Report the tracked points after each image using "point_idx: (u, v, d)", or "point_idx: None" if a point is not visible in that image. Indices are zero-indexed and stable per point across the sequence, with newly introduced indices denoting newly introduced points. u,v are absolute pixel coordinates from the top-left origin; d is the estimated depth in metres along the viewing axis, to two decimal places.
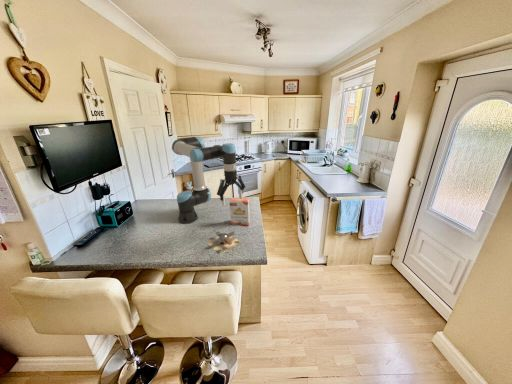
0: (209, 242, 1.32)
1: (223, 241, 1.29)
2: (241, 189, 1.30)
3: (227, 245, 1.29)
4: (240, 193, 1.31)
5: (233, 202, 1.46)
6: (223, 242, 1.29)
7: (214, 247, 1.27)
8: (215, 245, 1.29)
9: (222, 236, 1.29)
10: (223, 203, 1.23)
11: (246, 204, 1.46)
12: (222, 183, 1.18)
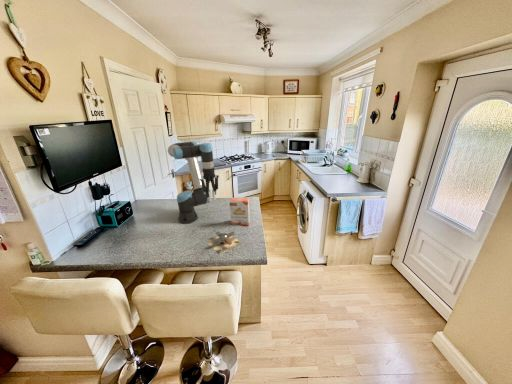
0: (209, 242, 1.32)
1: (223, 241, 1.29)
2: (214, 190, 1.38)
3: (227, 245, 1.29)
4: (213, 194, 1.39)
5: (233, 202, 1.46)
6: (223, 242, 1.29)
7: (214, 247, 1.27)
8: (215, 245, 1.29)
9: (222, 236, 1.29)
10: (209, 199, 1.37)
11: (246, 204, 1.46)
12: (202, 182, 1.30)
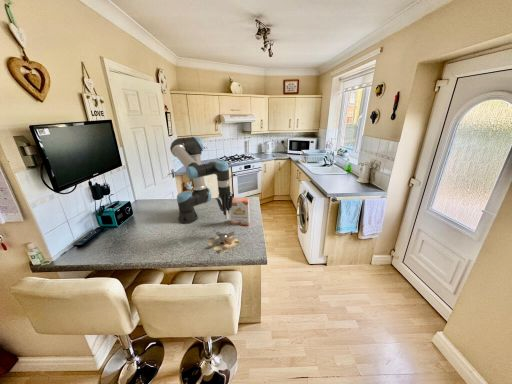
0: (209, 242, 1.32)
1: (223, 241, 1.29)
2: (227, 209, 1.33)
3: (227, 245, 1.29)
4: None
5: (233, 202, 1.46)
6: (223, 242, 1.29)
7: (214, 247, 1.27)
8: (215, 245, 1.29)
9: (222, 236, 1.29)
10: (226, 217, 1.34)
11: (246, 204, 1.46)
12: (218, 201, 1.26)
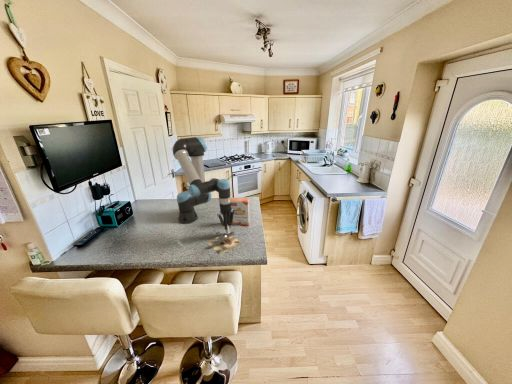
0: (209, 242, 1.32)
1: (223, 241, 1.29)
2: (228, 224, 1.37)
3: (227, 245, 1.29)
4: None
5: (233, 202, 1.46)
6: (223, 242, 1.29)
7: (214, 247, 1.27)
8: (215, 245, 1.29)
9: (222, 236, 1.29)
10: (227, 232, 1.38)
11: (246, 204, 1.46)
12: (220, 218, 1.30)
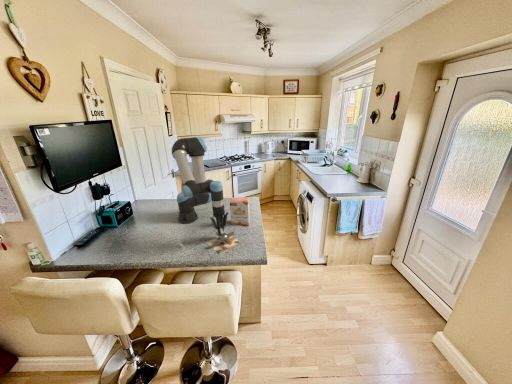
0: (209, 242, 1.32)
1: (223, 241, 1.29)
2: (221, 227, 1.34)
3: (227, 245, 1.29)
4: None
5: (233, 202, 1.46)
6: (223, 242, 1.29)
7: (214, 247, 1.27)
8: (215, 245, 1.29)
9: (222, 236, 1.29)
10: None
11: (246, 204, 1.46)
12: (213, 221, 1.27)
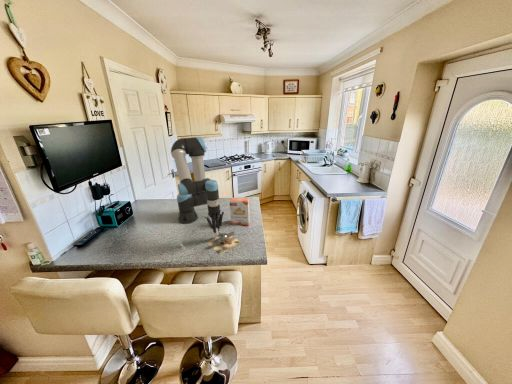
0: (209, 242, 1.32)
1: (223, 241, 1.29)
2: (217, 227, 1.32)
3: (227, 245, 1.29)
4: None
5: (233, 202, 1.46)
6: (223, 242, 1.29)
7: (214, 247, 1.27)
8: (215, 245, 1.29)
9: (222, 236, 1.29)
10: (216, 235, 1.33)
11: (246, 204, 1.46)
12: (208, 220, 1.24)
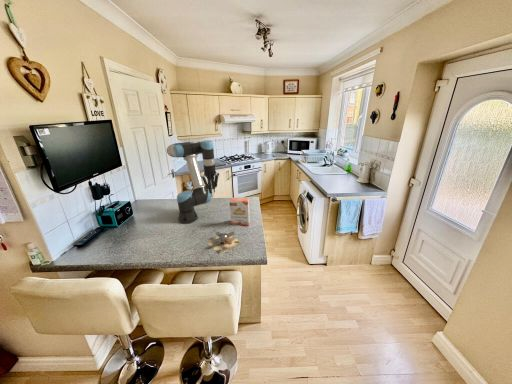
0: (209, 242, 1.32)
1: (223, 241, 1.29)
2: (213, 188, 1.38)
3: (227, 245, 1.29)
4: None
5: (233, 202, 1.46)
6: (223, 242, 1.29)
7: (214, 247, 1.27)
8: (215, 245, 1.29)
9: (222, 236, 1.29)
10: (212, 196, 1.40)
11: (246, 204, 1.46)
12: (204, 179, 1.31)
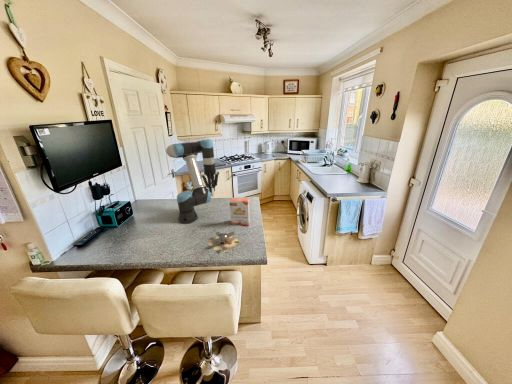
0: (209, 242, 1.32)
1: (223, 241, 1.29)
2: (213, 187, 1.39)
3: (227, 245, 1.29)
4: None
5: (233, 202, 1.46)
6: (223, 242, 1.29)
7: (214, 247, 1.27)
8: (215, 245, 1.29)
9: (222, 236, 1.29)
10: (212, 194, 1.40)
11: (246, 204, 1.46)
12: (204, 178, 1.32)
